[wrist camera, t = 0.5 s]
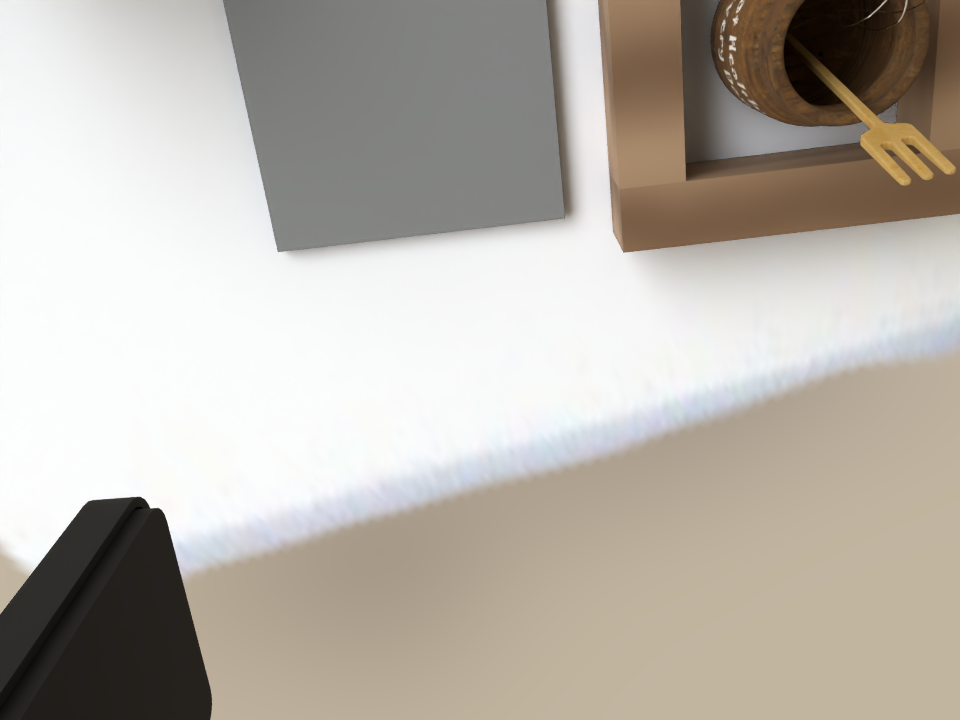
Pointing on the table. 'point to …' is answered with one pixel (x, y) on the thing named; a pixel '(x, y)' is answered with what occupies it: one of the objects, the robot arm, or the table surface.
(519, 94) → the slate coaster
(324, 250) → the table surface
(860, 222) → the wooden square frame
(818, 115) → the utensil holder
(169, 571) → the robot arm
